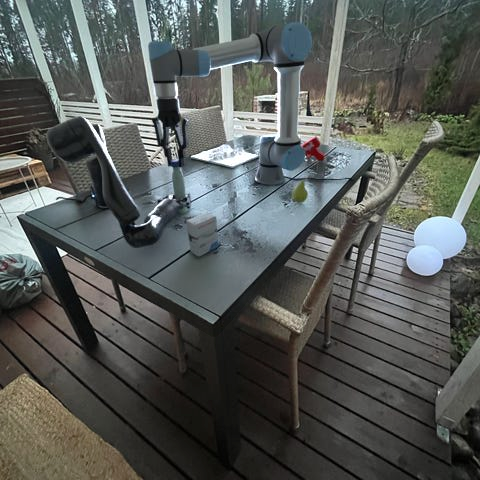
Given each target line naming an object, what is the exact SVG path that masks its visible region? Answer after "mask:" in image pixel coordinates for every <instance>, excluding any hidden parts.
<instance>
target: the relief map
mask: <svg viewBox="0 0 480 480" xmlns="http://www.w3.org/2000/svg"><path fill="white" fill-rule="evenodd" d="M190 158H191V159H192V160H197V161H201V162H205V163H209V164H210V163H211V164H214V165H218V166H221V167H222V166H223V167H228V168H231V169H233V168H234V169H235V168H236V167H238V166H241V165H242V164H246V163H248V162H250V161H252V160H255V159H259V154H256V153H254V154H253V153H250V152H248V151H246V150H245V149H244V148H243V147H240V148H237V149H234V148H232V147H231V146H230V145H229V144H224V143H223V144H222V145H220V146H218V147H215V148H212V149H209V150H205V151H201V152H200V153H198V154H194V155H191V156H190Z"/></svg>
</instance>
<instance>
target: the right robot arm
mask: <svg viewBox="0 0 480 480" xmlns="http://www.w3.org/2000/svg"><path fill="white" fill-rule="evenodd" d="M312 45H313V39H312V34H311V31H310V29H308V27H307V25H306V24H304V23H303V22H297V21H296V22H293V21H291V22H288V23H284V24H279V25H274V26H271V27H269V28H266V29H264V30H261V31H258V32H255V33H251V34H250V35H249V36H248V37H246V38H240V39H235V40H229V41H225V42H219V43H215V44H210V45H205V46H199V47H195V48H191V49H190V48H189V49H176V48H174V47H173V43H172V42H171V41H168V40H167V41H166V40H152V41H150V42H149V43H148V45H147V47H148V58H149V59H148V60H149V64H150V65H149V66H150V69H151V76H152V80H153V81H152V83H153V91H154V97H155V98H156V100H155V103H156V109H157V116H155V117H152V118H151V122H152V124H153V127H154V132H155V137H156V142H157V146H158V147H159V148H162V149H163V155H164V157H165V158H166V161H167V167H168V168H169V167H170V168H171V165H170V160H171V159H173V153H172V147H170V128H171V129H172V131H173V133H174V137H175V140H176V143H177V147H178V149H177V159H179V166H180V168H183V167H184V166H185V158H186V150H185V149H187V148H188V147H190V138H189V121H190V119H189V118H188V117H184V116H182V114H181V112H180V111H181V110H180V109H181V108H180V99H179V98H178V96H179V92H178V84H177V78H181V77H182V78H185V77H186V78H193V77H197V78H198V77H199V78H201V77H208V76H209V75H210V73H211V70H215V69H219V68H223V67H228V66H233V65H237V64H242V63H246V62H253V63H260V62H272V63H273V69H274V70H275V71H276V73H277V134H266V135H262V136H260V138H259V143H258V145H259V153H258V167H257V171H256V174H255V178H254V181H255V183H258V184H259V185H262V186H263V185H264V186H279V185H281V184H283V183H284V181H285V179H287V180H290V181H291V180H292V181H302V180H305V179H306V178H307V177H299V178H298V177H297V178H295V177H291V176H290V177H289V176H285V175H284V172H283V171H284V170H287V171H291V172H292V171H295V170H297V169H299V168H300V167H301V165H302V164H303V163H304V161H305V159H306V156H305V150H304V148H303V147H302V146H301V145H302V138H301V136H300V135H299V134H298V133H299V112H300V111H299V109H300V107H299V106H300V85H301V84H300V83H301V71H302V70H303V68H304V67H305V61H306V59H307V58H308V57H309V54H310V53H311V51H312ZM161 123H162V125H161ZM180 124H181V127H180ZM180 128H181V129H180ZM306 180H313V181H343V180H349V181H353V179H352V178H351V177H350V178H345V179H334V178H320V179H315V177H309V178H307V179H306ZM306 180H305V181H306Z"/></svg>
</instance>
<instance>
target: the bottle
mask: <svg viewBox="0 0 480 480" xmlns="http://www.w3.org/2000/svg"><path fill="white" fill-rule="evenodd" d="M171 182H172V188H173V193H174V196H175V199H178V198H180V197H184V196H185V195H186V194H187V192H186V184H185V177H184V174H183V171H182V169H181V167H172V173H171ZM184 201H185V199H184ZM188 211H189V209H187V207H183V208H182V209H180V211H179V213H178V214H180V215H181V214H186V213H188Z"/></svg>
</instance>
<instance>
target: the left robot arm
mask: <svg viewBox="0 0 480 480" xmlns="http://www.w3.org/2000/svg"><path fill="white" fill-rule="evenodd" d="M46 142H47V144H48V146H49V148H50V149H51V151H52V152H53V153H54V155H56V156H57V158H59V159H60V160H62V161H63V162H65V163H69V164H74V163H78V162H80V161H82V160H84V159H85V161H84V164H85V167H86V170H87V173H88V177H89V180H90V182H91V184H90V190H91V193H89V194H88V195H86V196H85V197H84V199H79V198H69V197H64V196H58V197H56V198H55V201H58V200H59V199H62V200H65V201H76V202H81V203H84V202H86V201H87V199H88V198H90V199H91V200H94V202H95V206H96V207H98V208H99V209H109V211H110V212H111V214H112V215H113V216H114V218H115V219H116V220H117V222H118V224H119V227H120V230H121V233H122V235H123V238H124V240H125V242H126V243H127V244H128V245H129V246H130V247H131V248H134V249H139V248H145V247H149V246H153V245H155V244H157V243H159V242H160V240H161V238H162V235H163V233H164V229H166V227H167V226H168V225H169V224H171V223H172V222H173V220H174V219H175V218H176V217H177V216H178V215H179V214H180V213H179V211H180V209H182V208H183V207H187V209H188V210H190V209H191V207H192V196H191V193H190V192H186V195H185V196H184V197H180V198H178V199H175V196H174V192H173V193H172V194H165V195H163V196H162V197H159V198H158V199H156V203H157V205H155V207H154V208H153V209H152V211H151V212H150V213H148V214H147V216H146V217H145V218H144V219H143V223H142V224H138V225H137V223H136V221H137V220H138V219H139V218H140V217H141V215H142V214H141V210H140V208H139V207H138V205H137V203H136V202H135V200H134V199H133V197H132V195H131V194H130V193H129V191H128V190H127V188H126V186H125V184H124V182H123V181H122V178H121V177H120V174H119V173H118V170H117V169H116V166H115V165H114V163H113V160H112V158H111V156H110V155H109V153H108V149H107V145H106V139H105V134H104V132H103V129H102V127H101V125H100V124H98V123H90V122H89V120H88V119H86V117H84V116H81V115H77V116H74V117H72V118H70V119H68V120H65V121H62V122H60V123H58V124H56V125H53V126H52V127H50V128H48V130H47V131H46ZM86 158H87V159H86ZM184 199H185V201H184Z"/></svg>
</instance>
